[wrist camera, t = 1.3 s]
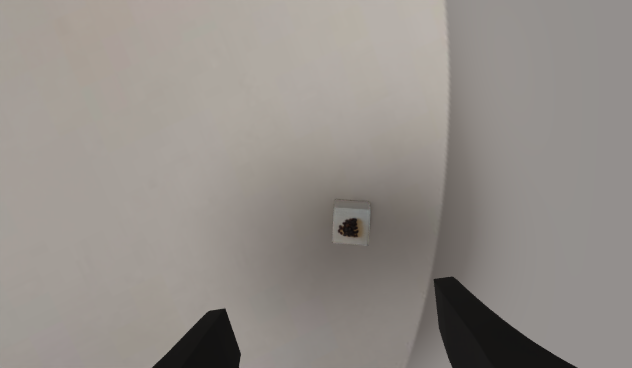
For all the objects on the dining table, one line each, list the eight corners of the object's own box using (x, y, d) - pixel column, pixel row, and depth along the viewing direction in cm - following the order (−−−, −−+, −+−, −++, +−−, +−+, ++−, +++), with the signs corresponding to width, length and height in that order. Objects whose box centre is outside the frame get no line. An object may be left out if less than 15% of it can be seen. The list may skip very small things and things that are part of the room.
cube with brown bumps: (366, 233, 24) (368, 247, 21) (333, 231, 24) (331, 244, 21) (368, 201, 23) (371, 210, 21) (334, 199, 23) (333, 208, 21)
